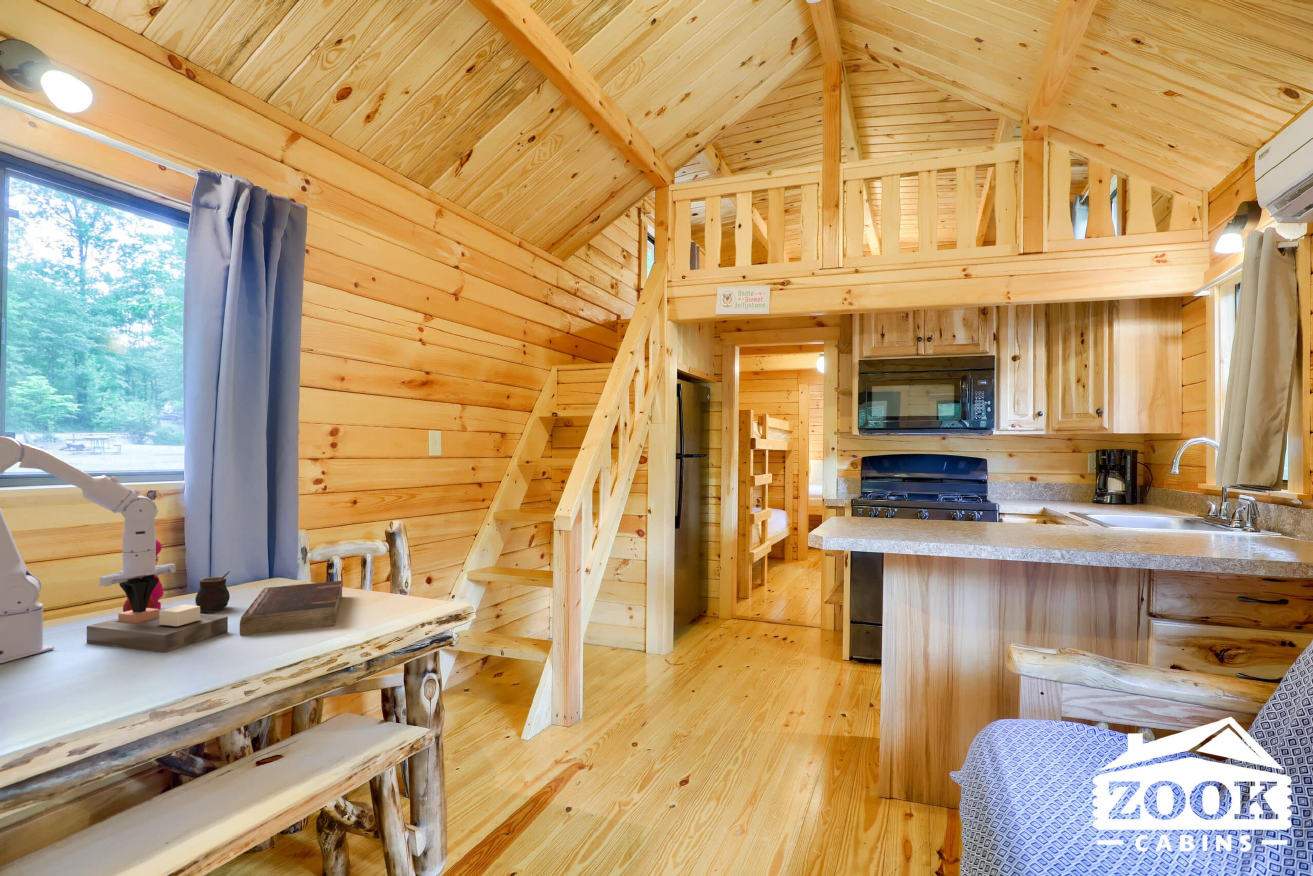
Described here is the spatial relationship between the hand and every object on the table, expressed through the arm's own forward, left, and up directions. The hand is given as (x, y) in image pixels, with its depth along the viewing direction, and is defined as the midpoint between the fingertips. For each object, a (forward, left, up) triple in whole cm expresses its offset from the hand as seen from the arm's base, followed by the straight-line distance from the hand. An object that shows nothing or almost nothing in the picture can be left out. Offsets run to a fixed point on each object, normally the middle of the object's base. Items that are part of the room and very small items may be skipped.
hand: (139, 611), depth 139 cm
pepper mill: (+14, +18, -5) cm, 23 cm away
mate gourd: (+20, +3, -5) cm, 21 cm away
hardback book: (+23, -20, -6) cm, 31 cm away
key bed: (0, -6, -5) cm, 8 cm away
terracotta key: (0, 0, -3) cm, 3 cm away
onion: (+7, +10, -5) cm, 13 cm away
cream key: (0, -12, -1) cm, 12 cm away
